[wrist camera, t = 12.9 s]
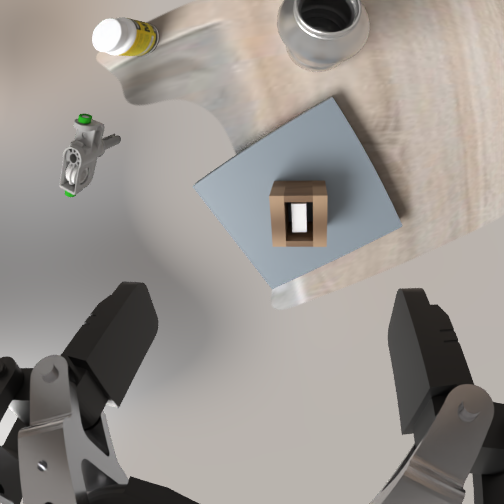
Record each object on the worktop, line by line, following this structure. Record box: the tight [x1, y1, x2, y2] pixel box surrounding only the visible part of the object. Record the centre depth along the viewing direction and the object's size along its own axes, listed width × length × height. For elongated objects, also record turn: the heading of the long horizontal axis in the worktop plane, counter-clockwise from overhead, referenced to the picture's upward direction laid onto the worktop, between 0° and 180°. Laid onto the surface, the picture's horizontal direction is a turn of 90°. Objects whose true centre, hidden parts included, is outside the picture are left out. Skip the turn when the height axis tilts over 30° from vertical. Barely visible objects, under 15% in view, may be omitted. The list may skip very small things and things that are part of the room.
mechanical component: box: [59, 114, 121, 197], centre depth 34 cm, size 3×10×10 cm, turn 155°
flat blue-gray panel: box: [193, 97, 402, 289], centre depth 36 cm, size 20×18×6 cm
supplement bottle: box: [92, 18, 159, 56], centre depth 27 cm, size 5×5×8 cm
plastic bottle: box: [277, 0, 370, 72], centre depth 20 cm, size 6×7×20 cm
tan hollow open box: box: [269, 181, 327, 247], centre depth 35 cm, size 6×6×5 cm
